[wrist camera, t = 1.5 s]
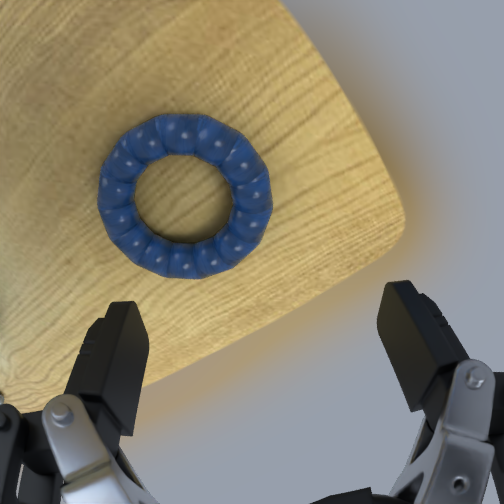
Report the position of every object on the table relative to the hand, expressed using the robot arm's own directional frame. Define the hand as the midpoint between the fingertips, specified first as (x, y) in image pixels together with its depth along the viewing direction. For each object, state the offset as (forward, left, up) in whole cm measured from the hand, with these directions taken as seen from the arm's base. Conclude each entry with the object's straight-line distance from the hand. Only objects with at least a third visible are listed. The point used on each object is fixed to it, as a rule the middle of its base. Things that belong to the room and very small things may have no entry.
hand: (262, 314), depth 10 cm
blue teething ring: (+3, -2, -9) cm, 10 cm away
